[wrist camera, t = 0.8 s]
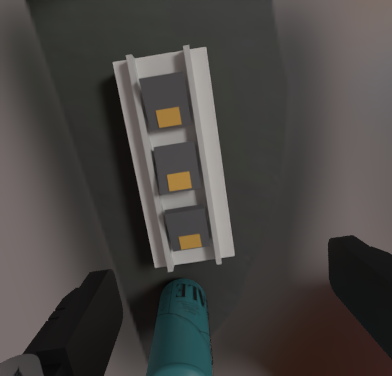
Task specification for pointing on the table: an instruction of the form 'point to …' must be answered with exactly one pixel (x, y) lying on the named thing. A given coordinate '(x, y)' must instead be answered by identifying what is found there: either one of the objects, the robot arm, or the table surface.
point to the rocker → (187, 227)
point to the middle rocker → (177, 168)
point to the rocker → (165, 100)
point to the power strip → (198, 132)
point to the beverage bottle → (181, 332)
